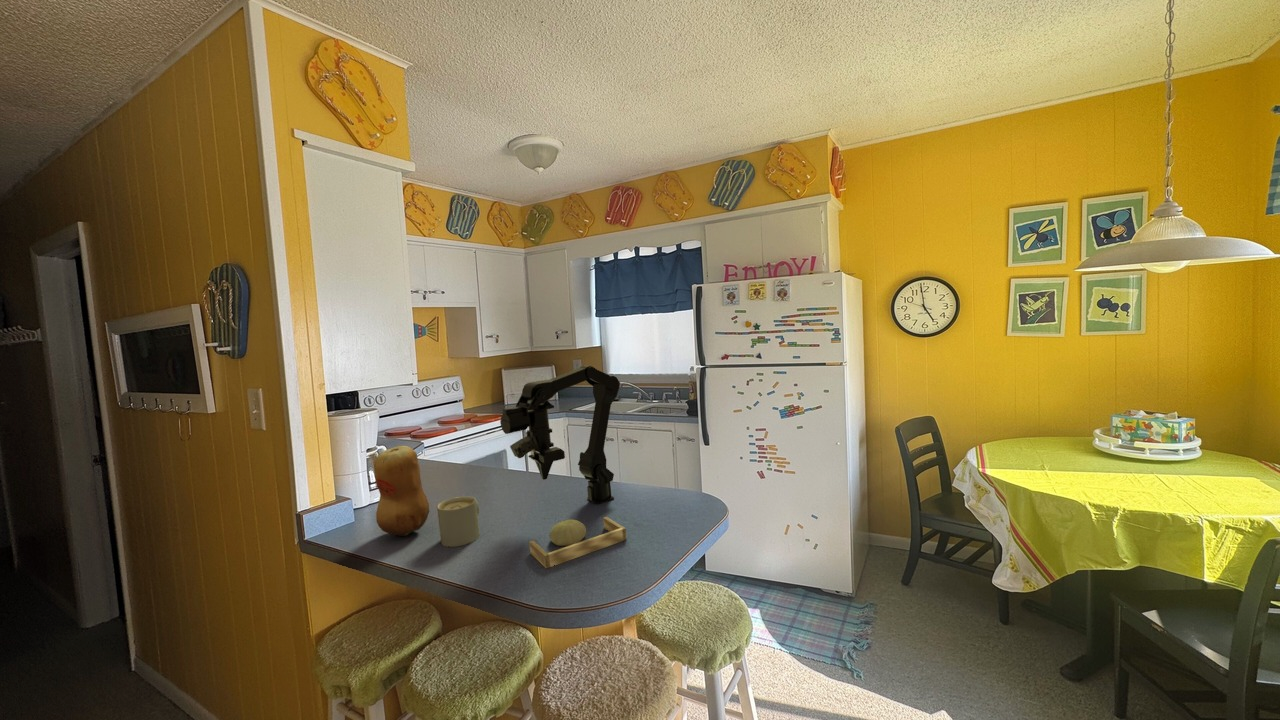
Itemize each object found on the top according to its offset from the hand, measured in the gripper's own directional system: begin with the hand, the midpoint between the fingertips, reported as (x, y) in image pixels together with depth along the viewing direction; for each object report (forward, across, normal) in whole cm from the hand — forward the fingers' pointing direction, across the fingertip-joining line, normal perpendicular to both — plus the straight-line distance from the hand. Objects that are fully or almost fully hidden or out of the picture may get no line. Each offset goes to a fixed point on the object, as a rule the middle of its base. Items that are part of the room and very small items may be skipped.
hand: (544, 479), depth 146 cm
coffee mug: (+12, -6, -22) cm, 26 cm away
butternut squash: (+12, -20, -35) cm, 42 cm away
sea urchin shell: (+12, +17, -2) cm, 21 cm away
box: (+12, +22, -2) cm, 25 cm away
